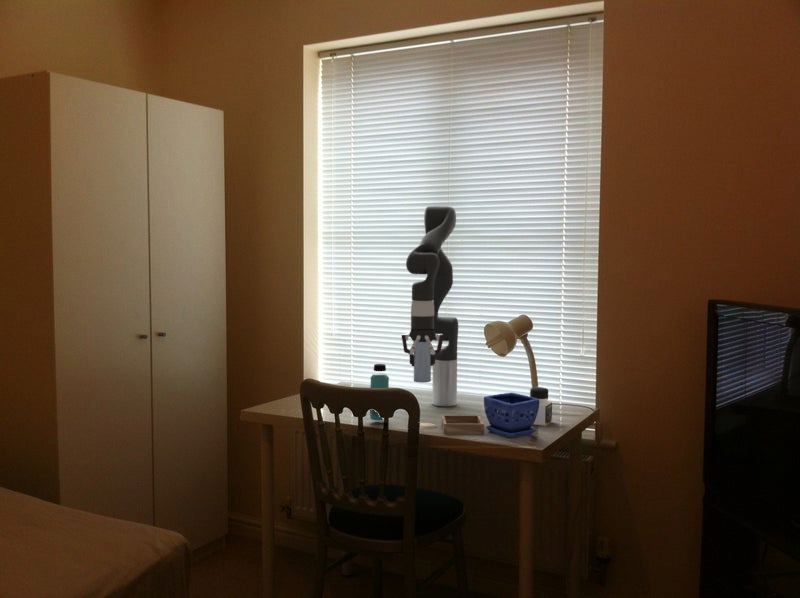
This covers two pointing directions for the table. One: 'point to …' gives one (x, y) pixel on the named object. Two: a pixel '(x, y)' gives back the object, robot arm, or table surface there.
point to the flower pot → (511, 414)
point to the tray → (462, 424)
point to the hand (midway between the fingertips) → (422, 365)
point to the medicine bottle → (542, 406)
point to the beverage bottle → (378, 385)
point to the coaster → (427, 426)
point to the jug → (422, 362)
